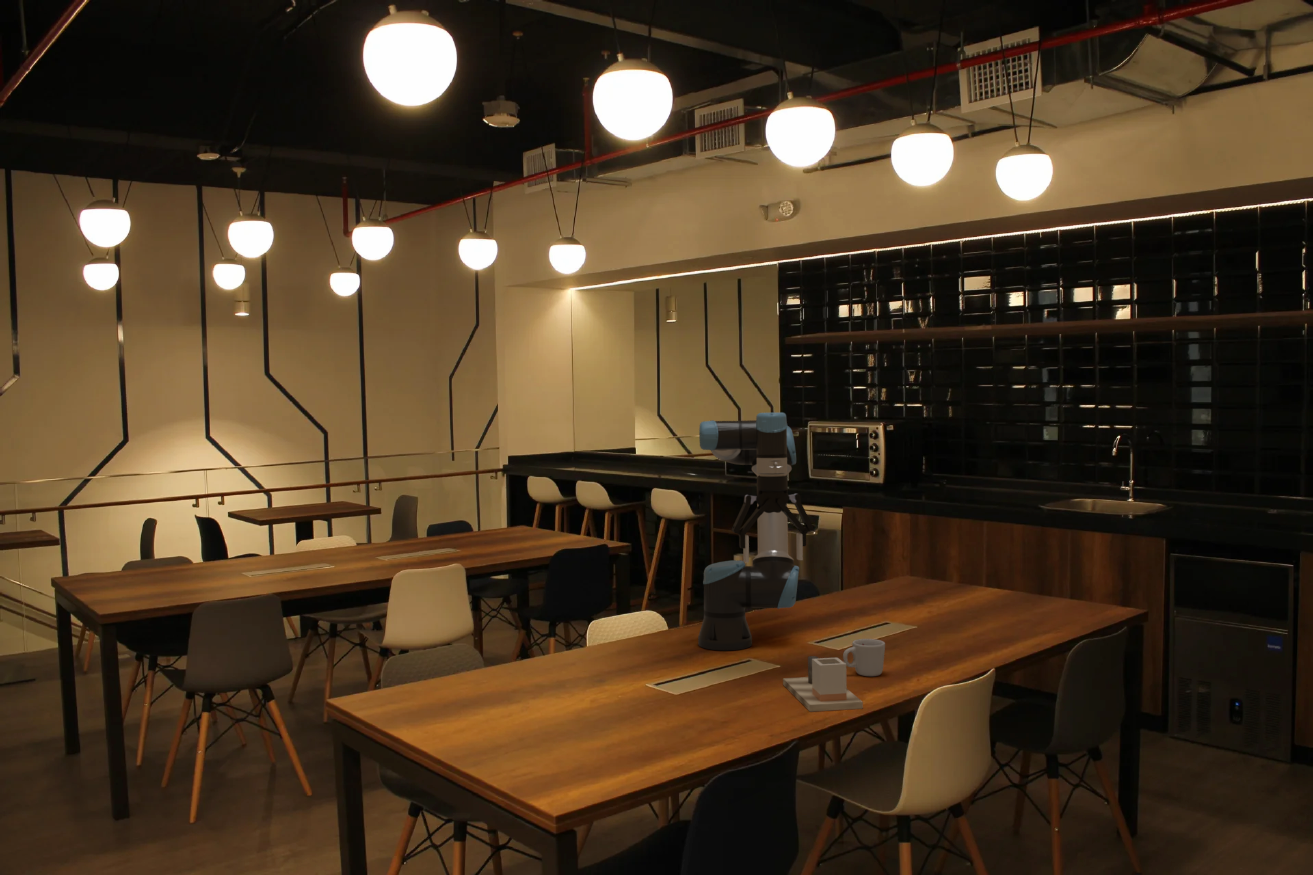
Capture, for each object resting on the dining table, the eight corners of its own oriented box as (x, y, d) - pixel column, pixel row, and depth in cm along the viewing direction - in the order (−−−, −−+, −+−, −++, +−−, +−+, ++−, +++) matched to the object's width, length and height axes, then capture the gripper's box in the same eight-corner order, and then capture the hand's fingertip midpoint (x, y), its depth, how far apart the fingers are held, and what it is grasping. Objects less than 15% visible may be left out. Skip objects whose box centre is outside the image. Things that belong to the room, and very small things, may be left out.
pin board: (783, 684, 240) (782, 653, 240) (831, 681, 242) (830, 651, 241) (810, 711, 218) (809, 677, 218) (862, 708, 220) (862, 674, 220)
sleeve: (812, 693, 227) (811, 658, 226) (837, 692, 227) (837, 657, 227) (820, 701, 221) (820, 665, 220) (846, 699, 221) (846, 663, 221)
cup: (851, 680, 243) (850, 647, 243) (836, 672, 250) (836, 640, 250) (891, 676, 246) (891, 644, 245) (875, 668, 253) (875, 637, 253)
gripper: (725, 477, 241) (726, 564, 242) (825, 474, 245) (826, 560, 245) (719, 475, 249) (720, 560, 249) (816, 472, 252) (817, 556, 253)
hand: (773, 560), depth 247 cm, fingers open, 13 cm apart
